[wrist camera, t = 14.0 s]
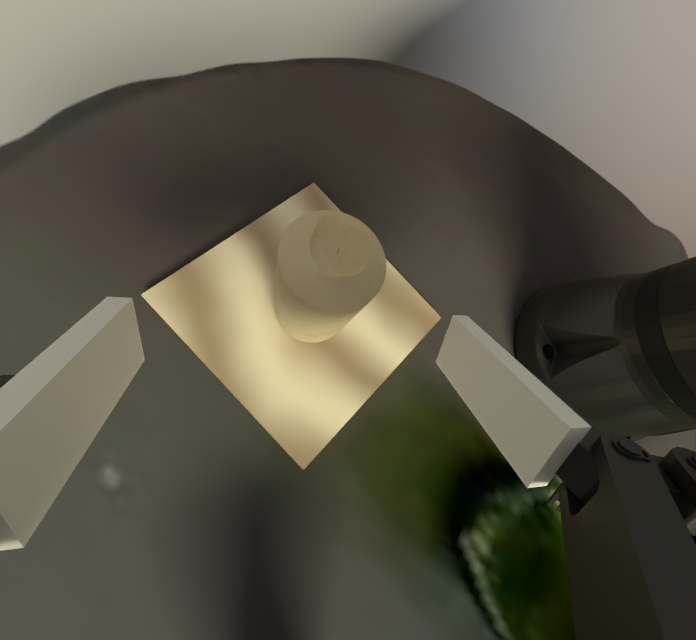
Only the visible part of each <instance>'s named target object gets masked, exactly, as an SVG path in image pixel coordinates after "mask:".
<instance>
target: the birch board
mask: <svg viewBox="0 0 696 640" xmlns="http://www.w3.org/2000/svg"><path fill="white" fill-rule="evenodd" d="M318 210H333V211H339V212H341V211H340V210H339V209H338V208H337V207H336V205H335V204H334V203H333V202H332V201H331V200H330V199H329V198H328V197H327V196H326V195H325V194H324V193H323V192H322V191H321V190H320V189H319V187H318V186H317V185H316V184H315V183H312V184H311V185H309V186H308V187H306V188H305V189H303V190H301V191H300V192H298V193H297V194H295V195H294V196H292V197H291V198H289V199H288V200H286V201H284V202H283V203H281V204H280V205H278V206H277V207H275V208H274V209H272V210H271V211H269V212H268V213H266V214H264V215H263V216H261V217H260V218H258V219H257V220H255V221H254V222H252V223H251V224H249V225H247V226H246V227H244V228H243V229H241V230H240V231H238V232H237V233H235V234H234V235H232V236H231V237H229V238H227V239H226V240H224V241H223V242H221V243H220V244H218V245H217V246H215V247H214V248H212V249H210V250H209V251H207V252H206V253H204V254H203V255H201V256H200V257H198V258H197V259H195V260H194V261H192V262H190V263H189V264H187V265H186V266H184V267H183V268H181V269H180V270H178V271H177V272H175V273H174V274H172V275H170V276H169V277H167V278H166V279H164V280H163V281H161V282H160V283H158V284H157V285H155V286H153V287H152V288H150V289H149V290H147V291H146V292H144V293H143V294H141V296H142V297H143V298H144V299H145V300H146V301H147V302H148V303H149V304H150V305H151V306H152V307H153V309H154V310H155V311H156V312H157V313H158V314H159V315H160V316H161V317H162V318H163V319H164V320H165V321H166V323H167V324H168V325H169V326H170V327H171V328H172V329H173V330H174V331H175V332H176V333H177V334H178V335H179V337H180V338H181V339H182V340H183V341H184V342H185V343H186V344H187V345H188V346H189V347H190V348H191V350H192V351H193V352H194V353H195V354H196V355H197V356H198V357H199V358H200V359H201V360H202V361H203V362H204V364H205V365H206V366H207V367H208V368H209V369H210V370H211V371H212V372H213V373H214V374H215V375H216V376H217V378H218V379H219V380H220V381H221V382H222V383H223V384H224V385H225V386H226V387H227V388H228V389H229V390H230V392H231V393H232V394H233V395H234V396H235V397H236V398H237V399H238V400H239V401H240V402H241V403H242V404H243V406H244V407H245V408H246V409H247V410H248V411H249V412H250V413H251V414H252V415H253V416H254V417H255V419H256V420H257V421H258V422H259V423H260V424H261V425H262V426H263V427H264V428H265V429H266V430H267V431H268V433H269V434H270V435H271V436H272V437H273V438H274V439H275V440H276V441H277V442H278V443H279V444H280V445H281V447H282V448H283V449H284V450H285V451H286V452H287V453H288V454H289V455H290V456H291V457H292V458H293V459H294V461H295V462H296V463H297V464H298V465H299V466H300V467H301V468H302V469H303V470H304V469H305V468H306V467H307V466H308V464H309V463H310V462H311V461H312V460H313V459H314V458H315V457H316V456H317V455H318V453H319V452H320V451H321V450H322V449H323V448H324V447H325V446H326V445H327V443H328V442H329V441H330V440H331V439H332V438H333V437H334V436H335V435H336V434H337V432H338V431H339V430H340V429H341V428H342V427H343V426H344V425H345V424H346V422H347V421H348V420H349V419H350V418H351V417H352V416H353V415H354V414H355V413H356V411H357V410H358V409H359V408H360V407H361V406H362V405H363V404H364V403H365V401H366V400H367V399H368V398H369V397H370V396H371V395H372V394H373V393H374V391H375V390H376V389H377V388H378V387H379V386H380V385H381V384H382V383H383V382H384V380H385V379H386V378H387V377H388V376H389V375H390V374H391V373H392V372H393V370H394V369H395V368H396V367H397V366H398V365H399V364H400V363H401V362H402V361H403V359H404V358H405V357H406V356H407V355H408V354H409V353H410V352H411V351H412V349H413V348H414V347H415V346H416V345H417V344H418V343H419V342H420V341H421V339H422V338H423V337H424V336H425V335H426V334H427V333H428V332H429V331H430V330H431V328H432V327H433V326H434V325H435V324H436V323H437V322H438V321H439V320H440V318H441V317H440V316H439V315H438V314H437V313H436V312H435V310H434V309H433V308H432V307H431V306H430V305H429V304H428V303H427V302H426V301H425V300H424V299H423V298H422V297H421V296H420V295H419V294H418V292H417V291H416V290H415V289H414V288H413V287H412V286H411V285H410V284H409V283H408V282H407V281H406V280H405V279H404V278H403V277H402V275H401V274H400V273H399V272H398V271H397V270H396V269H395V268H394V267H393V266H392V265H391V264H390V263H389V262H388V261H387V260H386V275H385V279H384V282H383V285H382V287H381V289H380V291H379V292H378V293H377V295H376V296H375V297H374V298H373V299H372V300H371V301H370V302H369V303H368V304H367V305H366V306H365V307H364V308H363V309H362V310H361V311H360V312H359V313H358V314H357V315H356V316H355V317H354V318H353V319H352V320H350V321H349V322H348V323H347V324H346V325H345V326H344V327H343V328H342V329H341V330H340V331H339V332H338V333H337V334H336V335H334V336H333V337H331V338H330V339H328V340H325V341H322V342H317V343H307V342H302V341H299V340H297V339H294V338H293V337H291V336H290V335H288V334H287V333H286V332H285V331H284V330H283V329H282V327H281V326H280V324H279V322H278V320H277V318H276V315H275V308H274V300H275V284H276V267H277V253H278V246H279V241H280V239H281V236H282V234H283V233H284V231H285V230H286V228H287V227H288V226H289V225H290V224H291V223H292V222H293V221H294V220H296V219H297V218H299V217H300V216H302V215H304V214H307V213H310V212H313V211H318Z"/></svg>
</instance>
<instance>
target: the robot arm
mask: <svg viewBox="0 0 696 640" xmlns="http://www.w3.org/2000/svg"><path fill="white" fill-rule="evenodd" d="M515 347H516V356H517V360H516V359H515V358H514V357H513V356H512V355H510V354H509V353H508V352H507V351H506V350H505V349H504V348H503V347H501V346H500V345H499V344H498V343H497V342H496V341H495V340H494V339H493V338H491V337H490V336H489V335H488V334H487V333H486V332H485V331H484V330H482V329H481V328H480V327H479V326H478V325H477V324H476V323H475V322H473V321H472V320H471V319H470V318H469V317H468V316H461V315H453V316H452V319H451V322H450V324H449V327H448V330H447V333H446V335H445V338H444V341H443V343H442V346H441V349H440V352H439V354H438V357H437V360H436V363H437V365H438V366H439V368H440V369H441V370H442V372H443V373H444V374H445V376H446V377H447V379H448V380H449V381H450V383H451V384H452V385H453V387H454V388H455V390H456V391H457V392H458V394H459V395H460V396H461V398H462V399H463V401H464V402H465V403H466V405H467V406H468V407H469V409H470V410H471V412H472V413H473V414H474V416H475V417H476V418H477V420H478V421H479V422H480V424H481V425H482V427H483V428H484V429H485V431H486V432H487V433H488V435H489V436H490V438H491V439H492V440H493V442H494V443H495V444H496V446H497V447H498V449H499V450H500V451H501V453H502V454H503V455H504V457H505V458H506V460H507V461H508V462H509V464H510V465H511V466H512V468H513V469H514V471H515V472H516V473H517V475H518V476H519V477H520V479H521V480H522V482H523V483H524V484H525V486H526V487H527V488H532V487H540V486H547V484H548V483H549V482H550V480H551V479H552V478H553V477H554V475H555V474H557V475H558V477H559V478H560V479H561V480H562V481H563V482H562V483H561V485H560V486H559V487H558V488H557V489H556V491H555V492H554V493H553V494H552V496H551V497H550V498H549V499H548V502H547V506H549V507H551V506H552V505H553V504H554V503H555V501H556V500H557V501H559V502H560V505H559V506H558V507H557V509H556V510H557V511H559V512H561V519H562V528H563V536H564V545H565V553H566V562H567V570H568V579H569V587H570V596H571V604H572V613H573V621H574V630H575V638H576V640H696V536H692V535H691V534H690V532H689V530H688V528H687V525H688V524H689V523H690V522H692V521H693V520H694V519H695V518H696V452H694V451H691V450H689V449H686V448H680V447H676V448H673V449H672V450H671V451H670V452H669V453H668V454H667V455H666V456H665V457H664V458H663V457H659V456H654V455H650V454H649V453H648V452H647V451H645V450H644V449H643V448H642V447H641V446H639V445H638V444H636V443H635V442H633V441H636V440H639V439H642V438H644V437H646V436H657V435H665V434H671V433H677V432H682V431H687V430H693V429H696V257H692V258H689V259H686V260H683V261H681V262H678V263H675V264H672V265H669V266H666V267H663V268H660V269H657V270H654V271H651V272H647V273H641V274H629V275H617V276H605V277H594V278H581V279H571V280H567V281H563V282H561V283H558V284H555V285H553V286H550V287H548V288H545V289H543V290H541V291H539V292H537V293H536V294H535V295H533V296H532V297H531V298H530V299H529V300H528V302H527V303H526V304H525V306H524V308H523V309H522V311H521V314H520V316H519V319H518V323H517V327H516V336H515ZM144 360H145V358H144V354H143V349H142V344H141V339H140V334H139V329H138V324H137V319H136V314H135V309H134V304H133V299H132V298H122V297H107V298H105V299H104V300H103V301H102V302H101V303H100V304H98V305H97V306H96V307H95V308H94V309H92V310H91V311H90V312H89V313H88V314H87V315H85V316H84V317H83V318H82V319H81V320H80V321H78V322H77V323H76V324H75V325H74V326H73V327H71V328H70V329H69V330H68V331H67V332H66V333H64V334H63V335H62V336H61V337H60V338H59V339H57V340H56V341H55V342H54V343H53V344H52V345H50V346H49V347H48V348H47V349H46V350H45V351H43V352H42V353H41V354H40V355H39V356H37V357H36V358H35V359H34V360H33V361H32V362H30V363H29V364H28V365H27V366H26V367H25V368H23V369H22V370H21V371H20V372H19V373H18V374H16V375H2V376H0V551H1V550H9V549H18V548H24V547H25V545H26V544H27V542H28V541H29V539H30V537H31V536H32V534H33V533H34V531H35V530H36V528H37V527H38V525H39V523H40V522H41V520H42V519H43V517H44V516H45V514H46V513H47V511H48V509H49V508H50V506H51V505H52V503H53V502H54V500H55V499H56V497H57V495H58V494H59V492H60V491H61V489H62V488H63V486H64V485H65V483H66V482H67V480H68V478H69V477H70V475H71V474H72V472H73V471H74V469H75V468H76V466H77V464H78V463H79V461H80V460H81V458H82V457H83V455H84V454H85V452H86V450H87V449H88V447H89V446H90V444H91V443H92V441H93V440H94V438H95V436H96V435H97V433H98V432H99V430H100V429H101V427H102V426H103V424H104V422H105V421H106V419H107V418H108V416H109V415H110V413H111V412H112V410H113V408H114V407H115V405H116V404H117V402H118V401H119V399H120V398H121V396H122V394H123V393H124V391H125V390H126V388H127V387H128V385H129V384H130V382H131V380H132V379H133V377H134V376H135V374H136V373H137V371H138V370H139V368H140V366H141V365H142V363H143V362H144Z"/></svg>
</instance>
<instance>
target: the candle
mask: <svg viewBox="0 0 696 640" xmlns="http://www.w3.org/2000/svg"><path fill="white" fill-rule="evenodd" d="M385 275H386V259H385V254H384V251H383V248H382V246H381V243H380V242H379V240H378V238H377V237H376V235H375V234H374V233H373V232H372V231H371V230H370V228H369V227H367V226H366V225H365V224H364V223H363V222H361V221H360V220H358V219H357V218H355V217H353V216H351V215H348V214H346V213H342V212H339V211H333V210H318V211H313V212H310V213H307V214H304V215H302V216H300V217H299V218H297V219H296V220H294V221H293V222H292V223H291V224H290V225H289V226H288V227H287V228H286V230H285V231H284V233H283V234H282V236H281V239H280V241H279V246H278V253H277V267H276V284H275V300H274V308H275V315H276V318H277V320H278V322H279V324H280V326H281V327H282V329H283V330H284V331H285V332H286V333H287V334H288V335H290V336H291V337H293V338H294V339H297V340H299V341H302V342H307V343H317V342H322V341H325V340H328V339H330V338H331V337H333V336H334V335H336V334H337V333H338V332H339V331H340V330H341V329H342V328H343V327H344V326H345V325H346V324H347V323H348V322H349V321H350V320H352V319H353V318H354V317H355V316H356V315H357V314H358V313H359V312H360V311H361V310H362V309H363V308H364V307H365V306H366V305H367V304H368V303H369V302H370V301H371V300H372V299H373V298H374V297H375V296H376V295H377V293H378V292H379V291H380V289H381V287H382V285H383V282H384V279H385Z"/></svg>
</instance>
